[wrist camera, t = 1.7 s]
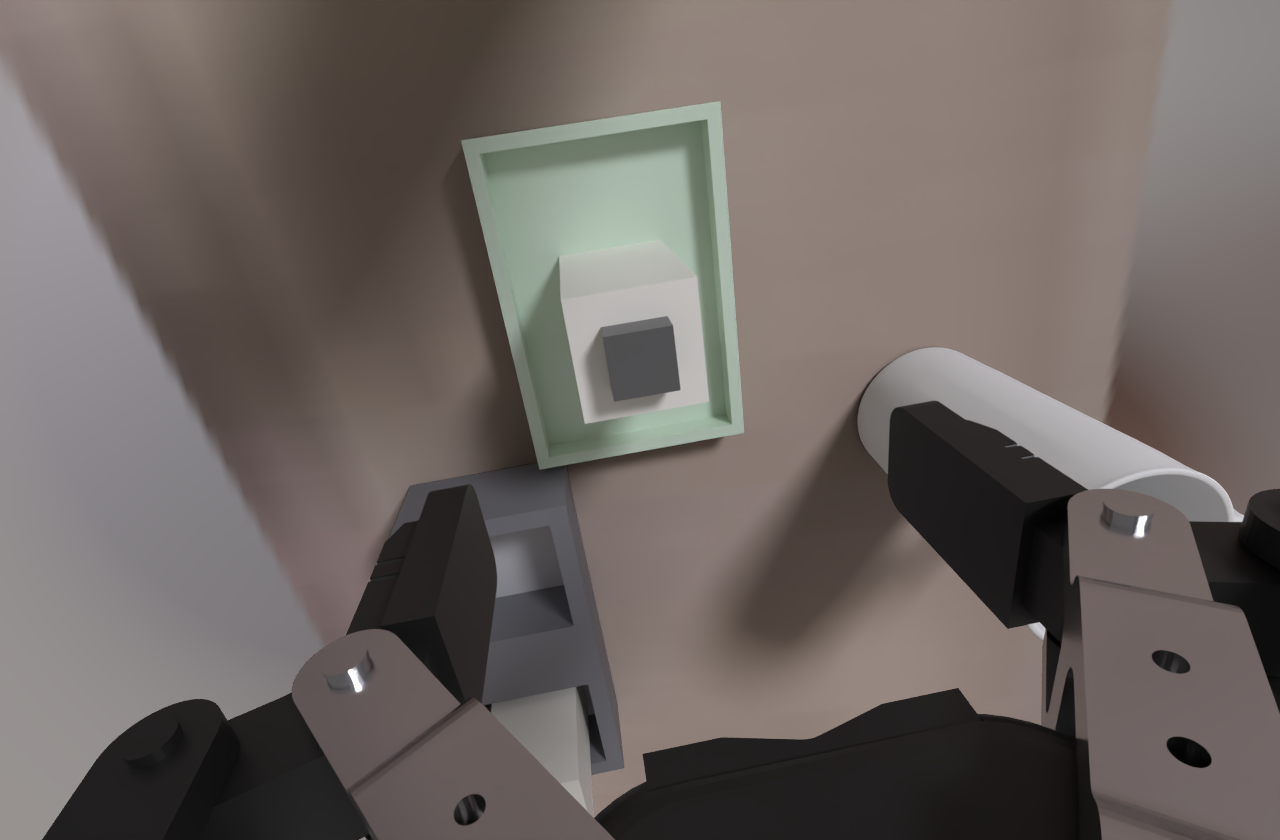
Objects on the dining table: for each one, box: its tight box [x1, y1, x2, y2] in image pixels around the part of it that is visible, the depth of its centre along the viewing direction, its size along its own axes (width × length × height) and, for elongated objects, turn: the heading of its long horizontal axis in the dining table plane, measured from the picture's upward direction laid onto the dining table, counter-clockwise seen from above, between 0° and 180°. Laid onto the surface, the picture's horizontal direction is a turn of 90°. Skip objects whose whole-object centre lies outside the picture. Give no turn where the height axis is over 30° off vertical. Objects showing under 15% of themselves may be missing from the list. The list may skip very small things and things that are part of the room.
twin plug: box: [491, 686, 594, 818], centre depth 29 cm, size 4×4×8 cm
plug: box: [559, 240, 709, 424], centre depth 22 cm, size 4×4×8 cm
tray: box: [461, 101, 744, 470], centre depth 25 cm, size 13×9×2 cm
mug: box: [857, 347, 1244, 640], centre depth 24 cm, size 10×7×12 cm, turn 89°
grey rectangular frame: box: [389, 463, 624, 775], centre depth 30 cm, size 16×7×4 cm, turn 8°
